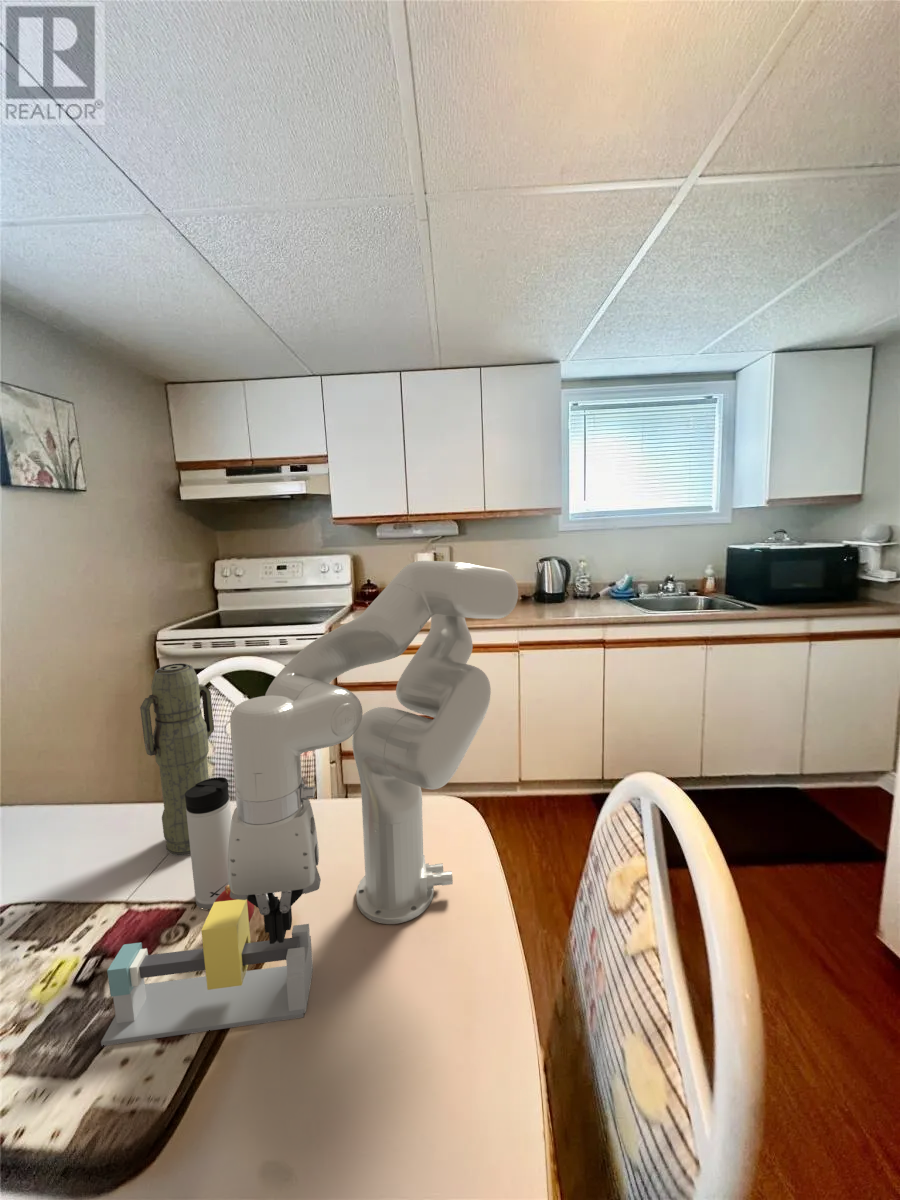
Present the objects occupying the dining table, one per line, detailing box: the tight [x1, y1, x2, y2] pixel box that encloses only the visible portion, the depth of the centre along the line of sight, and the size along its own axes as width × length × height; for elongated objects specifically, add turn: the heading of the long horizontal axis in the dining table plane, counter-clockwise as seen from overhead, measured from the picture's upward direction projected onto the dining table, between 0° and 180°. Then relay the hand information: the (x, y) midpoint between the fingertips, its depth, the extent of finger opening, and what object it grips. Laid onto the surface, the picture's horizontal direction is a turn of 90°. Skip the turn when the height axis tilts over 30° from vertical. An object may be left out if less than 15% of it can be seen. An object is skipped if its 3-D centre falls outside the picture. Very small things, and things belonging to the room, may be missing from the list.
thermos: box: [139, 662, 215, 856], centre depth 91 cm, size 9×12×35 cm
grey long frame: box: [100, 923, 314, 1047], centre depth 60 cm, size 23×7×8 cm, turn 98°
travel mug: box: [185, 776, 232, 910], centre depth 77 cm, size 6×7×20 cm
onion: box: [215, 885, 255, 923], centre depth 71 cm, size 6×6×8 cm
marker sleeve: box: [200, 899, 252, 990], centre depth 60 cm, size 4×4×8 cm
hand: (279, 933), depth 61 cm, fingers closed
